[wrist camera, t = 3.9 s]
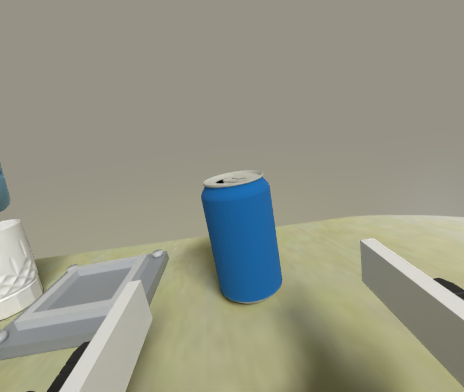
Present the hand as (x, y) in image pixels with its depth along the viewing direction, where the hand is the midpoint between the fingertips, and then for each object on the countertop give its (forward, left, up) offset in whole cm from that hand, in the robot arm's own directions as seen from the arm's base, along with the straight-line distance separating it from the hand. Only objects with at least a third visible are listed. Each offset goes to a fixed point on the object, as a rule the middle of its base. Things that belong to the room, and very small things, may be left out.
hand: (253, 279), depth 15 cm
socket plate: (-18, +13, -7) cm, 23 cm away
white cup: (-30, +15, -8) cm, 34 cm away
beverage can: (0, +10, -8) cm, 12 cm away
